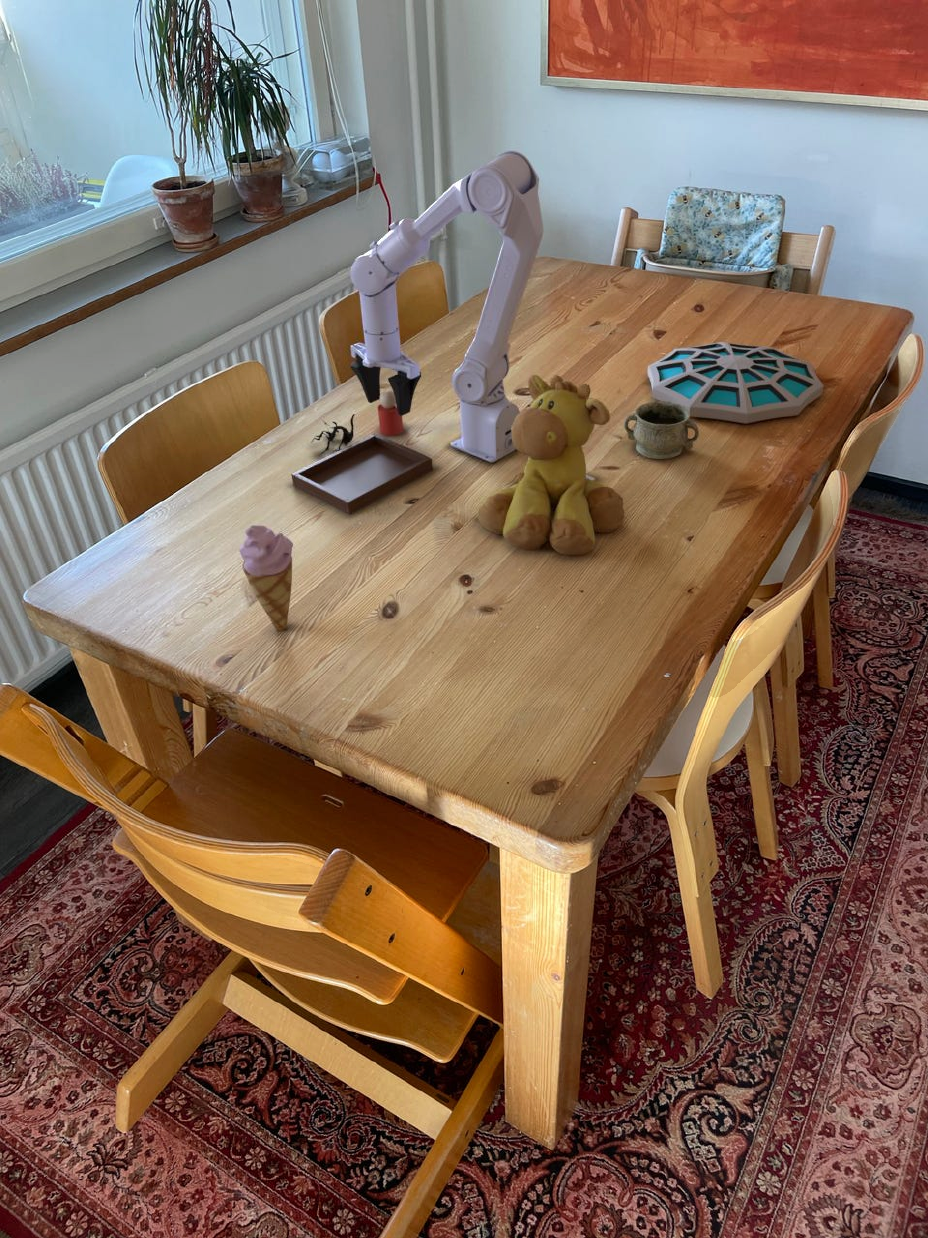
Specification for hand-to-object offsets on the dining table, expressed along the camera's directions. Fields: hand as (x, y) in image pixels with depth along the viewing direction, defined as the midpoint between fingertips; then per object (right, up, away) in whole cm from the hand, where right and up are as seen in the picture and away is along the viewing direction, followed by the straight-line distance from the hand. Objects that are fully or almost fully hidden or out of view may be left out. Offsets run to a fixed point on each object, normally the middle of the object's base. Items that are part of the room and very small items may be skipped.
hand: (389, 406), depth 159 cm
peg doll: (0, -3, +3) cm, 4 cm away
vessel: (+44, -8, -7) cm, 46 cm away
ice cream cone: (-10, -37, -39) cm, 55 cm away
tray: (-3, -13, -10) cm, 17 cm away
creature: (-9, -7, -1) cm, 12 cm away
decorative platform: (+61, +6, +10) cm, 62 cm away
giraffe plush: (+26, -21, -21) cm, 40 cm away
